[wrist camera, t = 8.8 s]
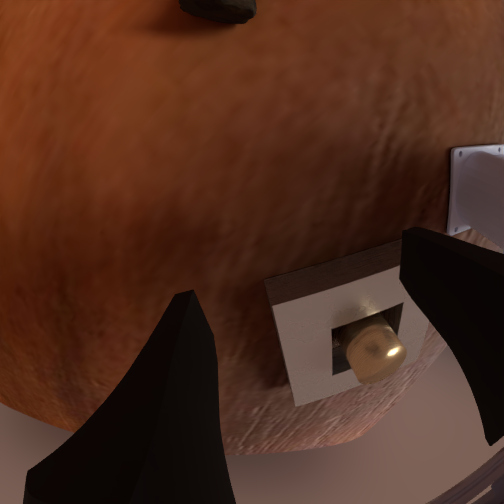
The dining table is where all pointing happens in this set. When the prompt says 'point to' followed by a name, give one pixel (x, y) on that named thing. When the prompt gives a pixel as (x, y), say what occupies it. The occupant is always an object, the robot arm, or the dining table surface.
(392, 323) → the square stone frame
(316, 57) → the dining table surface
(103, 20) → the dining table surface
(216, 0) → the hand tool
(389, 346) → the cylinder
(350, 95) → the dining table surface
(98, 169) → the dining table surface
